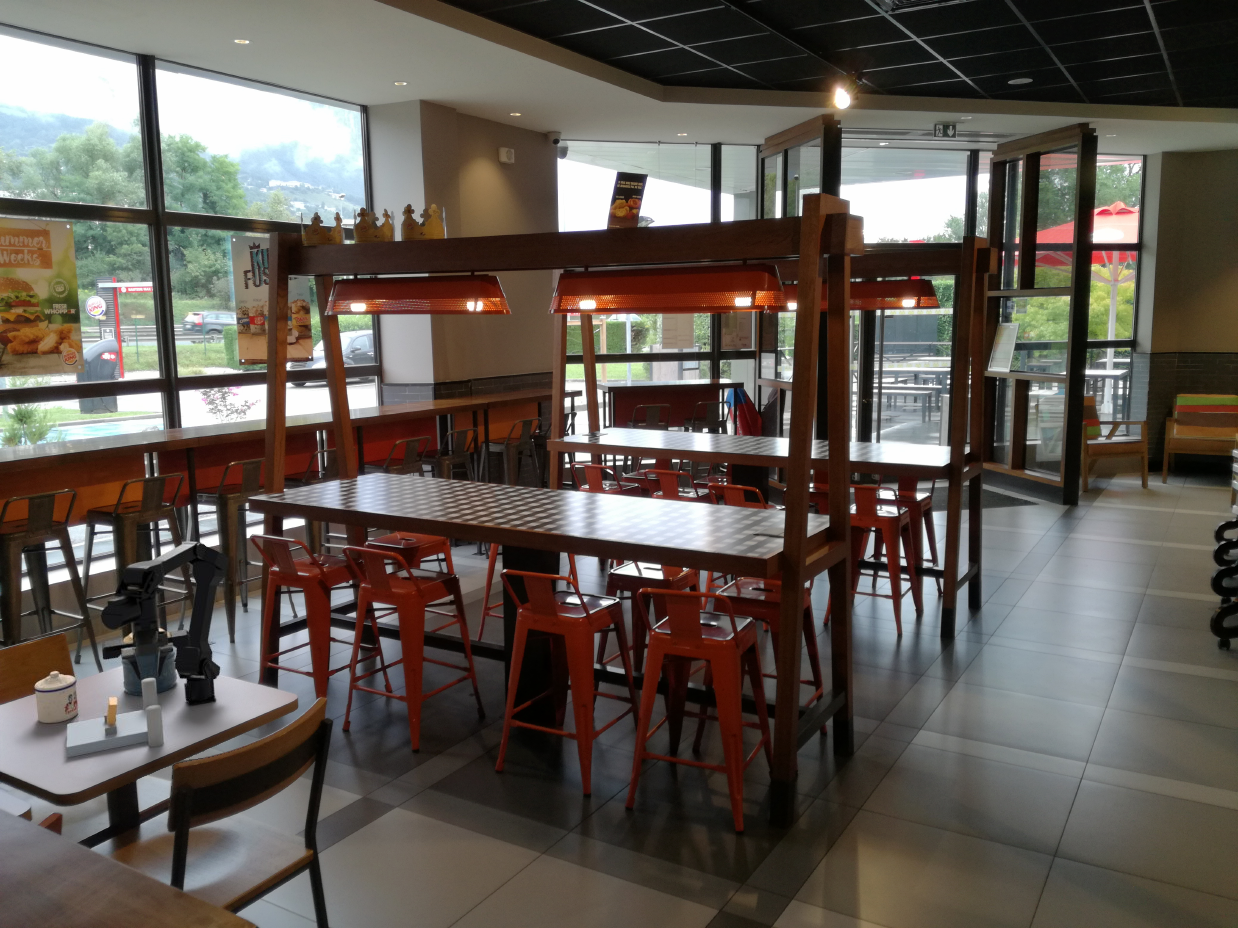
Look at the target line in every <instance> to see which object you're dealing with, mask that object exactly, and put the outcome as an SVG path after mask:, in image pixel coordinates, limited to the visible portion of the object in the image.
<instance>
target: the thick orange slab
mask: <svg viewBox="0 0 1238 928" xmlns="http://www.w3.org/2000/svg"><path fill="white" fill-rule="evenodd" d="M117 710H118V697H109V698H108V704H107V712H106V713H107V724H115V720H116V715H117Z"/></svg>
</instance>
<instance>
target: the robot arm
mask: <svg viewBox="0 0 1238 928" xmlns="http://www.w3.org/2000/svg"><path fill="white" fill-rule="evenodd" d="M229 563H230V562H229V558H228V557H227V555H226V554H225V553H224V552H222V551H221V552H220V551H218V550H216V549H214V548H211V547H209V546H207V545H206V544H204V543H203V542H200V541H187V540H186V541H184V542H182V543H181V544H180V545H179V546H177V547H175V548H173V549H171V550H168V551H167V552H164V553H163V554H161V555H159V556H158V557H156V558H154V559H151V560H145V561H139V562H135V563H131V564H129V565H127V566H126V567H125V568H124V571H123V573H122V575H121V578H120V579H119V583H118V585H117V588H116V590H115V592H114V593H113V595H114V597H116V598H111V599H108V600H107V603H106V604H107V605H106V606H105V607H104V608H103V609H102V611H101V614H100V620H101V623H102V624H103V625H104V627H106V628H107V629H108V630H111V631H112V630H113V631H114V630H117V629H120V628H122V627H125V626H127V625H129V624H131V633H132V635H133V642H129V643H124V642H123V643H121V639H120V638H119V639H114V640H105V641H103V643H102V644H101V653H102V654H101V655H102V660H112V659H117V658H118V659H119V658H121V661H122V660H128V661H129V663H130V664H131V665H132V667H133V669H134V671H135V673H136V675H137V677H138V679H139V680H141V676H140V670H139V666H138V662H137V657H136V653H135V650H136V652H137V655H138V656H144V655H147V654H157V653H158V668H157V670H158V677H160V675H161V672H162V668H163V664H164V661H165V659H166V657H167V655H168V654H169V653H170V652H173V651H174V648H176V652H175V660H174V662H175V669H176V673H177V675H178V677H179V679H180V680H183V679H184V680H185V681H186V682H185V683H184V684H183V685H184V698H185V702H188V706H195V705H200V704H201V705H202V704H204V703H210V702H215V700H216V701H217V698H216V694H215V682H214V681H215V680H217V678H218V677H219V676H220V672H221V667H220V665H218V664H217V663H216V662H214V660H213V651H212V648H211V646H210V645H211V644H210V643H209V638H210V637H209V636H210V630H211V624H212V618H213V613H214V607H215V601H216V595H217V590H218V586H219V584H221V582H222V581H223V580H224V579H225V577H226V575H227V571H228V567H229ZM186 564H188V565H190V566H191V567H192V571H191V572H192V574H191V575H192V576H193V579H194V582H195V584H196V586H195V592H194V598H193V604H192V610H191V614H190V615H191V616H190V621H189V627H188V630H187V629H180V630H173V631H170V636H167V631H168V630H165V631H159V628H160V627H159V626H160V625H159V613H158V601H157V598H158V597H157V595H161V594H163V589H162V588H159V587H158V586H159V585H161V584H162V583H163V582H164V580H165V576H167V575H168V574H170V573H172V572H174V571H175V570H177V569H179V568H181V567H182V566H185V565H186ZM120 656H121V657H120Z"/></svg>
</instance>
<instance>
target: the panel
mask: <svg viewBox="0 0 1238 928" xmlns="http://www.w3.org/2000/svg"><path fill="white" fill-rule="evenodd" d="M66 726H67V727H66V731H67V732H66V757H67V758H72V757H76V756H82V755H86V754H91V753H96V752H101V751H106V750H111V749H116V748H121V747H126V746H131V745H136V744H141V743H145V742H146V743H147V742H148V731H147V719H146V709H145V710H144V709H139V710H134V711H130V712H124V713H119V714H116V720H115V724H107V712H104V713H103V716H102V717H96V718H92V719H87V720H81V721H75V722H70V723H67V725H66Z"/></svg>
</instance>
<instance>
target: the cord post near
mask: <svg viewBox="0 0 1238 928" xmlns="http://www.w3.org/2000/svg"><path fill="white" fill-rule="evenodd" d="M162 715H163V713H162V706H161V705H159V704H158V705H152V706H149V707H147V708H146V719H147V731H148V741H147V742H148V747H150V748H156V747H160V746H162V745H163V744H164V743H165V741H164V729H163V728H164V727H163V726H164V725H163V716H162Z"/></svg>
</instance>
